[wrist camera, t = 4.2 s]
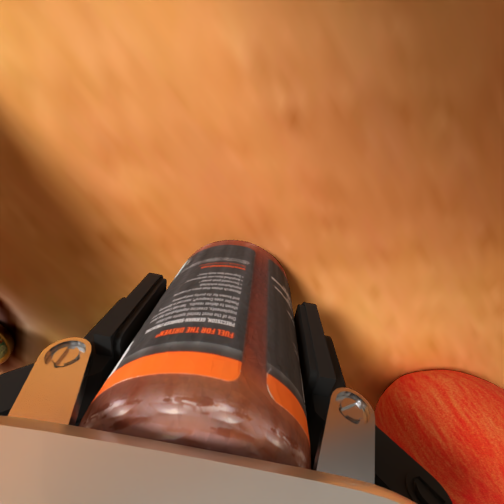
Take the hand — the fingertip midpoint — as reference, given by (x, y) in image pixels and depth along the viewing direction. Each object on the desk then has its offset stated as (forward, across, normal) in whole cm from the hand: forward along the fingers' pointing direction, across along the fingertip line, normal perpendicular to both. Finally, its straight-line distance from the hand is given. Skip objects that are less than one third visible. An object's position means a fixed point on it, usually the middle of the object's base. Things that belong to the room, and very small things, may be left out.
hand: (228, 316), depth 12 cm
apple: (+3, -13, +5) cm, 15 cm away
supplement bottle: (+3, 0, 0) cm, 3 cm away
